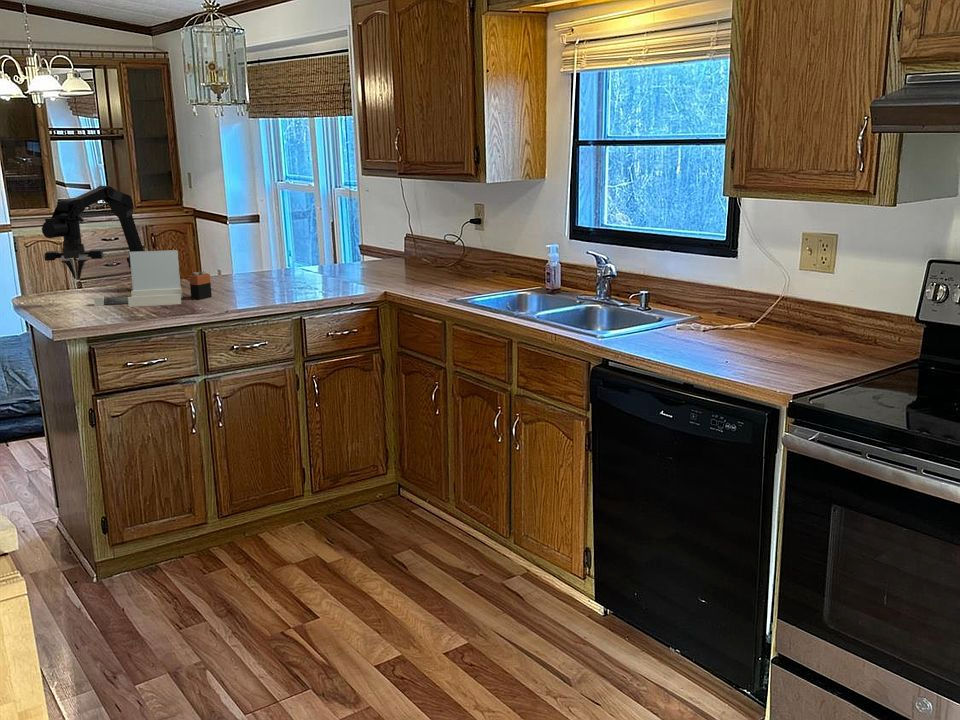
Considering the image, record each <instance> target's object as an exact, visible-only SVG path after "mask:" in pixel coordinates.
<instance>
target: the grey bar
mask: <svg viewBox="0 0 960 720" xmlns="http://www.w3.org/2000/svg"><path fill="white" fill-rule="evenodd" d="M128 297H129V296H127V297H124V296H123V297H109V298H108V297H106V298H105V297H104V295H102V296H101V295H99V296H97V295H96V296H94V297H93V302H94V307H101V306H102V307H103V306H105V305H106V306H109V305H129V304H128Z"/></svg>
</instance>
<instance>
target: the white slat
mask: <svg viewBox="0 0 960 720" xmlns="http://www.w3.org/2000/svg"><path fill="white" fill-rule="evenodd" d="M130 292H131V296H127V297H128V304H127V305H128V307H129V308H130V307H131V308H132V307H133V308H134V307H151V306H152V307H154V306H169V305H170V306H171V305H182V299H183V287H180V288H175V289H155V290H134V291H133V290H131V291H130Z"/></svg>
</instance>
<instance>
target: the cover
mask: <svg viewBox="0 0 960 720" xmlns="http://www.w3.org/2000/svg"><path fill="white" fill-rule="evenodd" d="M129 255H130V263H131V268H130V272H131V273H130V274H131V284H132V286H131V287H132V291H134V290H155V289H175V288H181V277H180V265H179V263H180V262H179V253H178V249H171V250H169V249H168V250H149V251H148V250H145V251H139V252H130V251H129Z"/></svg>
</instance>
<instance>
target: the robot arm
mask: <svg viewBox="0 0 960 720" xmlns="http://www.w3.org/2000/svg"><path fill="white" fill-rule="evenodd" d="M100 201H103V202H104V203H106V204H108V206H109V208H110V211H111V212H112V213H113V214H114V215H115V216H116V217H117V218H118V221H119V222H120V225H121V229H122V232H123V235H124V237H125V241H126V244H127V246H128V249H129V253H130V252H139V251H146V250H145V249H144V248H143V244H142V242H141V241H142V240H141V238H140V235H139V233H138V229H137V226H136V223H135V220H134V216H133V212H134V209H135V205H134V201H133V198H132V196H131V195H130V194H128V193H127V194H126V193H125V192H122V191H120V190H117V189H115V188H114V187H112V186H110V185H98V186H97V187H96V188H94V189H93V188H92V189H91V190H89V191H87V192H85V193H83V194H80V195H79V196H75V197H69V198H63V199H59V200H58V201H57V202H56V206H55V208H54V211H53V214H52V216H51V218H50V217H49V218H48V217H47V218H45V219H44V220H45V221H44V222H43V224H42V227H41V233H42V235H43V236H44V237H45V238H46V239H55V238H63V245H62V252H59V250H47V251H46V252H45V253H44V256H43V257H44V261H47V262H49V261H55V260H56V259H61V263H64V264H65V265H66V266H67V267H68V269H69V271H70V273H71V275H72V277H73V280H76V279H77V277H78V280H80V279H81V276H82V273H83V268H84V265H85V263H86V262H88V261H89V258H91V259H92V260H96V259H98V260H100V259H103V258H104V257H105V256H104V250H103V249H102V248H99V249H98V248H97V249H95V248H94V249H90V250H89V251H86V249H85V245H84V243H82V235H81V225H80V223H82V222H84V221H85V220H84V219H83V218H82V217H81V216H80V215H81V214H82V213H84V211H86V210H85V209H86V208H88V207H90V206H92V205H94V204H96V203H99V202H100ZM73 259H77V275H76V268H75V265H74V264H75V263H74V260H73ZM126 261H127V264H128V268H129V269H131V263H130V254H129V256H128V257H126Z"/></svg>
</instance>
